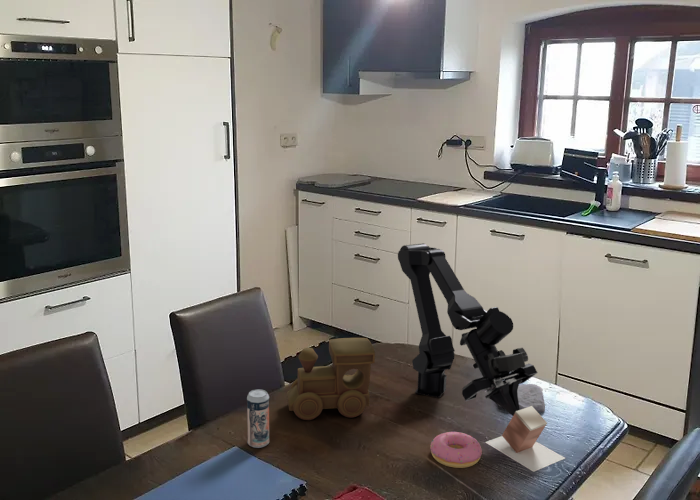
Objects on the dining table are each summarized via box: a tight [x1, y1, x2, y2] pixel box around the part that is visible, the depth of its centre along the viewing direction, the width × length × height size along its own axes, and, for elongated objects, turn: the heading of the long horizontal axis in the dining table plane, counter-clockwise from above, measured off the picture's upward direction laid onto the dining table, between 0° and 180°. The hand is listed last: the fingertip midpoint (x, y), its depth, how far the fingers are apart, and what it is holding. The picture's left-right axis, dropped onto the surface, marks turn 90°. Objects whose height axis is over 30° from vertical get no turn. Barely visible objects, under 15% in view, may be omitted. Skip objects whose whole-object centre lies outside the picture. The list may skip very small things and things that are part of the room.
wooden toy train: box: [286, 337, 376, 421], centre depth 166 cm, size 20×11×17 cm, turn 99°
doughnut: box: [429, 431, 483, 469], centre depth 147 cm, size 11×11×4 cm
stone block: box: [497, 383, 546, 413], centre depth 173 cm, size 12×5×10 cm
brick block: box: [501, 406, 548, 453], centre depth 150 cm, size 5×5×8 cm
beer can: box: [246, 388, 270, 449], centre depth 150 cm, size 5×5×12 cm
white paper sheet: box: [485, 435, 566, 473], centre depth 151 cm, size 14×10×1 cm
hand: (518, 417), depth 151 cm, fingers closed, pressing on brick block
